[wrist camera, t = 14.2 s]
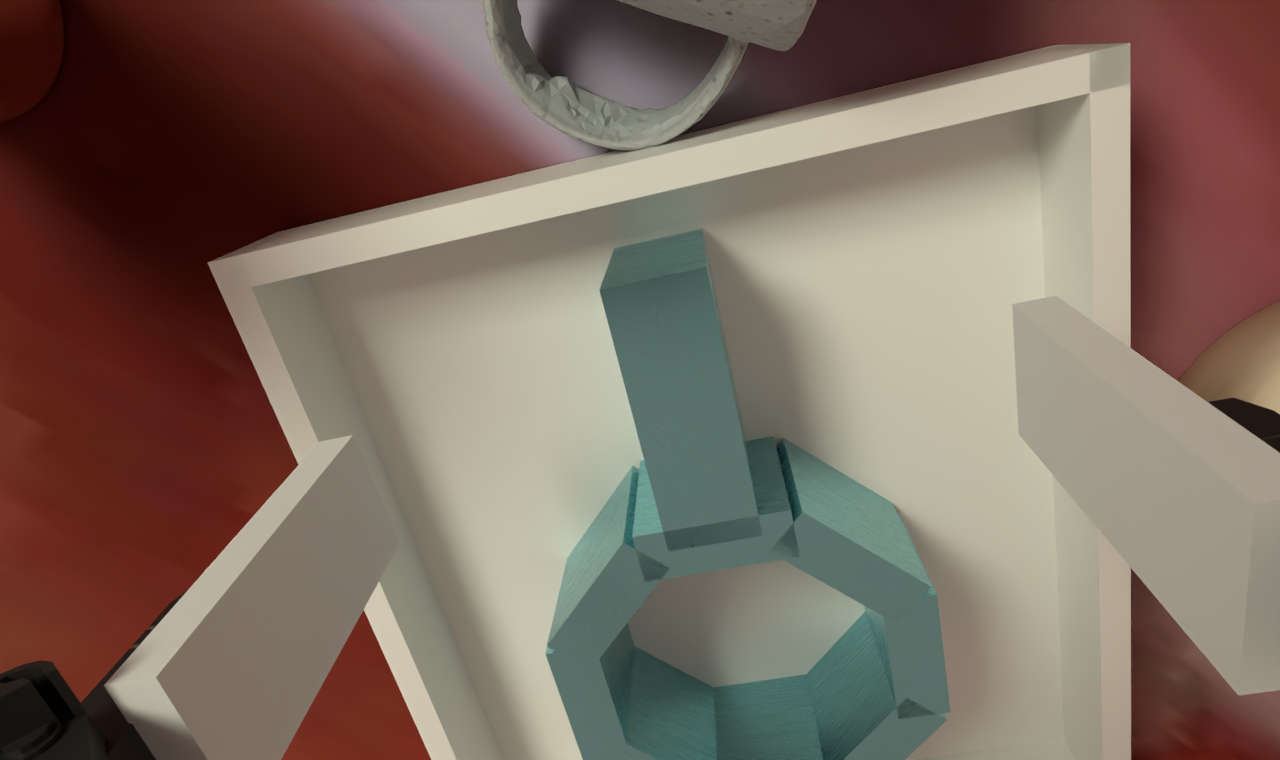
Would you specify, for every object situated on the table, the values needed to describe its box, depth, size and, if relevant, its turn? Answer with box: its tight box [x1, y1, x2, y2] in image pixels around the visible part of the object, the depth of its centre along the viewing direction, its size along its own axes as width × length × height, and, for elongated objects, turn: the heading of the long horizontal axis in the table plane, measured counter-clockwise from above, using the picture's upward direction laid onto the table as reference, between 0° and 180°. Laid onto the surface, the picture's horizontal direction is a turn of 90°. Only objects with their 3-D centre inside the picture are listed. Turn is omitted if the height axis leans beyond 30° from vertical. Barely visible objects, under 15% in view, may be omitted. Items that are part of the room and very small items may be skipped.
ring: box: [546, 229, 950, 760], centre depth 22 cm, size 17×10×4 cm, turn 13°
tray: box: [208, 43, 1131, 760], centre depth 23 cm, size 23×21×4 cm
